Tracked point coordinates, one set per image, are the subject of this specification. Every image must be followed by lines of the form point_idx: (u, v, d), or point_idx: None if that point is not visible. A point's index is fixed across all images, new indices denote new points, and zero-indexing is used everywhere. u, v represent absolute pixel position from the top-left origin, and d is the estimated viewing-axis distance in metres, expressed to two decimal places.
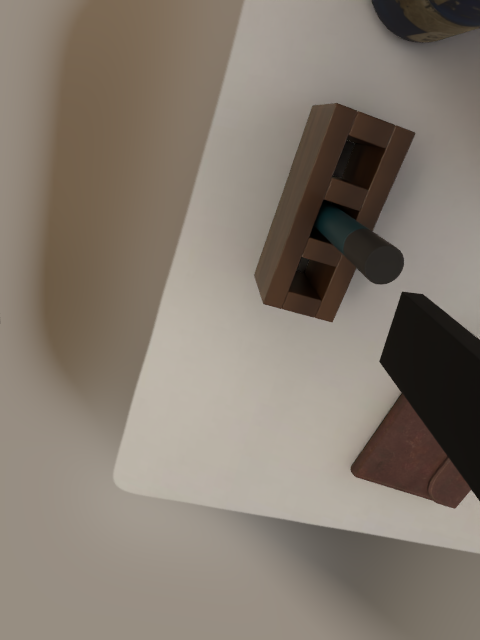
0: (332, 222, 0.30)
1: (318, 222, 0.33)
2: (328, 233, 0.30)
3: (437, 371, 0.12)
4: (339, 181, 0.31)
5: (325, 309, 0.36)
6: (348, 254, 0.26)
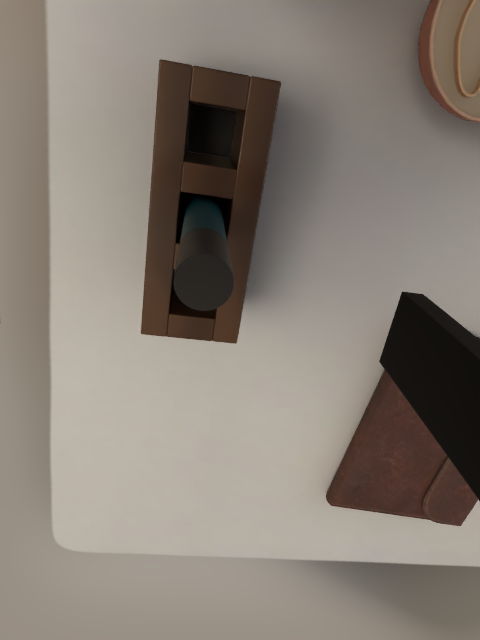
0: (184, 222, 0.22)
1: None
2: None
3: (437, 371, 0.12)
4: (194, 164, 0.23)
5: (222, 329, 0.28)
6: None
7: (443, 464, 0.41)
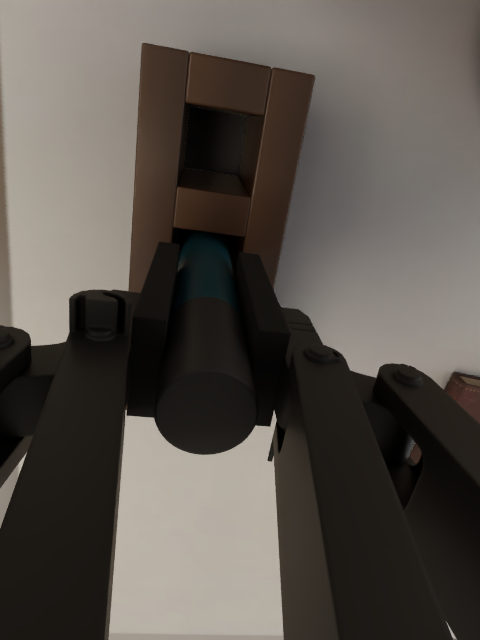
0: (177, 273, 0.16)
1: None
2: None
3: None
4: (192, 191, 0.17)
5: None
6: None
7: None
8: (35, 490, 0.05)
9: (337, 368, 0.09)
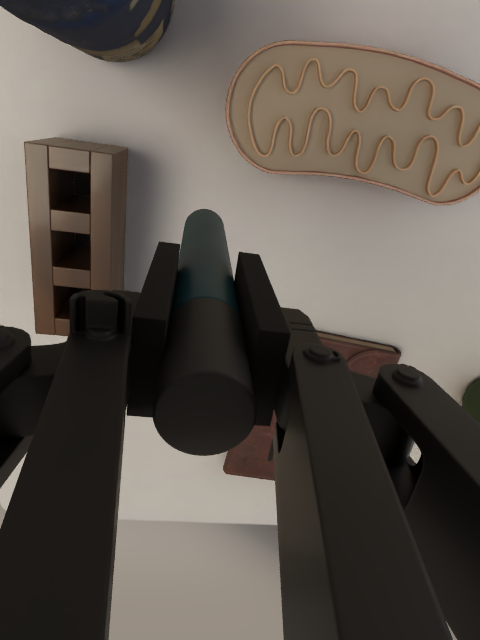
0: (177, 274, 0.16)
1: None
2: None
3: (240, 316, 0.14)
4: (58, 211, 0.33)
5: None
6: None
7: None
8: (35, 490, 0.05)
9: (337, 368, 0.09)
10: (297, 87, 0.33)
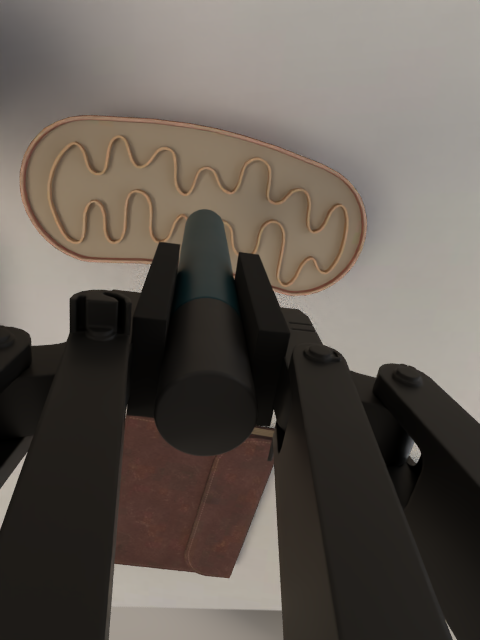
0: (177, 275, 0.16)
1: None
2: None
3: None
4: None
5: None
6: None
7: (193, 526, 0.45)
8: (35, 490, 0.05)
9: (337, 368, 0.09)
10: None
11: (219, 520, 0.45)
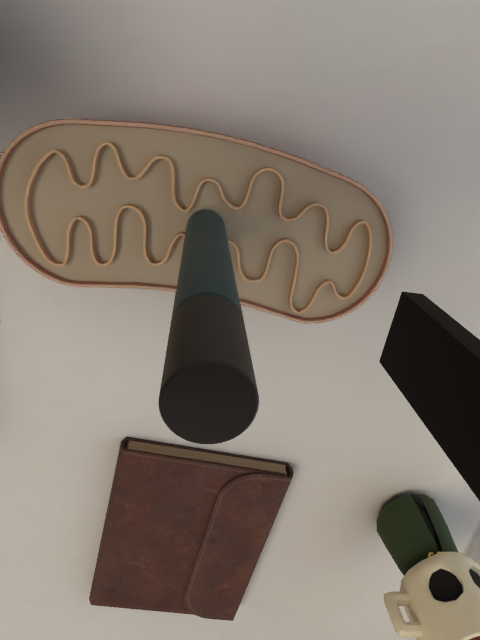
0: (180, 272, 0.16)
1: None
2: None
3: (437, 371, 0.12)
4: None
5: None
6: None
7: (193, 567, 0.41)
8: None
9: None
10: (91, 179, 0.24)
11: (222, 561, 0.41)
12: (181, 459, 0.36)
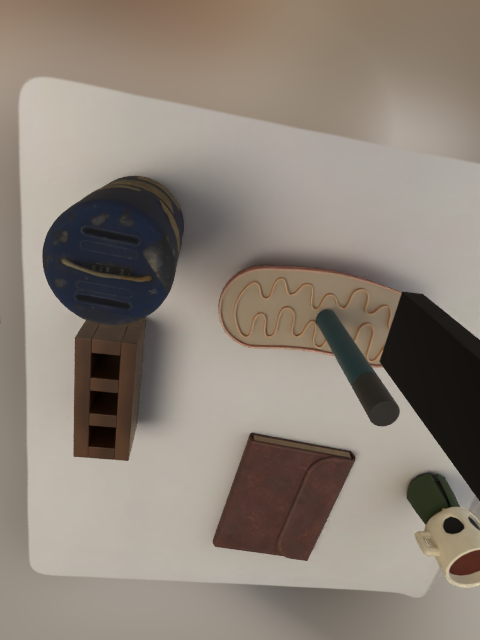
0: (342, 356, 0.38)
1: (331, 348, 0.41)
2: (340, 365, 0.38)
3: (437, 371, 0.12)
4: (96, 378, 0.46)
5: (119, 453, 0.50)
6: (357, 396, 0.34)
7: (286, 520, 0.63)
8: None
9: None
10: (270, 295, 0.45)
11: (305, 516, 0.63)
12: (287, 447, 0.58)
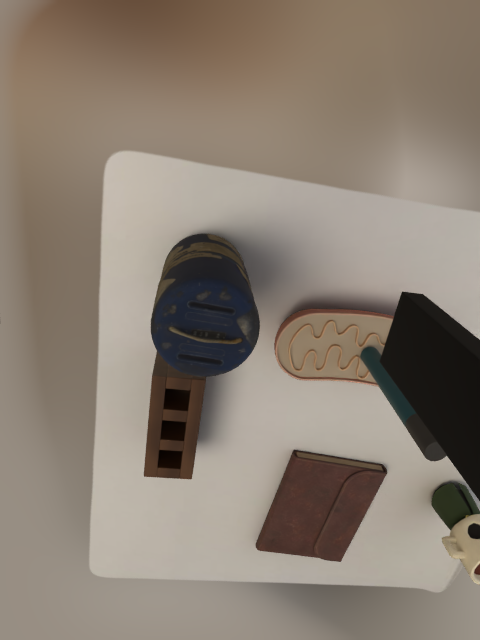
0: (392, 396, 0.44)
1: (380, 385, 0.47)
2: (390, 402, 0.44)
3: (437, 371, 0.12)
4: (168, 410, 0.52)
5: (184, 473, 0.56)
6: (410, 433, 0.40)
7: (323, 526, 0.69)
8: None
9: None
10: (320, 335, 0.52)
11: (340, 522, 0.69)
12: (326, 462, 0.64)
